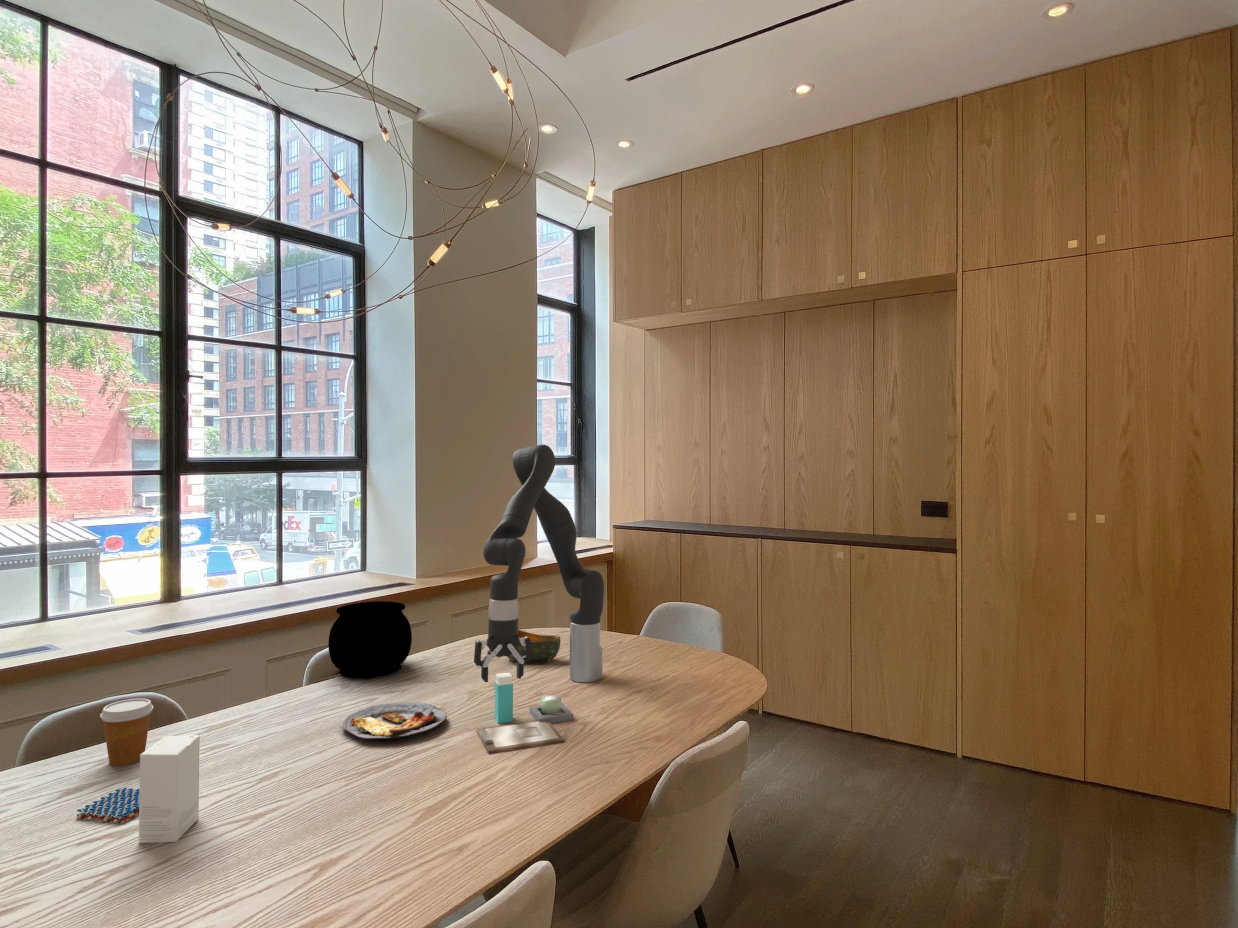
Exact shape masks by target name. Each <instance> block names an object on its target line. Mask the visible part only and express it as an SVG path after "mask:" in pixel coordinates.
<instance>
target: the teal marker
mask: <svg viewBox="0 0 1238 928" xmlns="http://www.w3.org/2000/svg"><path fill="white" fill-rule="evenodd" d="M494 720H495V721H496V723H497V724H498V725H499V724H507V723H513V722H514V683H513V675H512V674H511V673H510V672H502V673H495V681H494Z"/></svg>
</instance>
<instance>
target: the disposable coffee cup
mask: <svg viewBox="0 0 1238 928" xmlns="http://www.w3.org/2000/svg"><path fill="white" fill-rule="evenodd" d="M153 710H154V705H153V704H152V700H150V699H147V698H129V699H124V700H119V701H118V700H117V701H114V702H111V703H109V704H107V705H105V706H104V707H103V709H102V712H101V713H100V714H99V717H100V718H101V720H102V722H103V729H104V730H103V731H104V738H105V741H106V742H105V743H106V750H107V755H108V756H107V758H108V763H109V765H110V766H115V767H120V766H121V767H122V766H127V765H130V764H131V765H132V764H135V763H137V762H140V754H142V753H143V752H145V751H146V747H147V739H148V735H149V727H150V720H151V714H152V712H153Z"/></svg>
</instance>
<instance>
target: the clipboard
mask: <svg viewBox="0 0 1238 928" xmlns="http://www.w3.org/2000/svg"><path fill="white" fill-rule="evenodd" d="M475 733H476V735H477V736H478V737H479V740H480V741H481V743H482V745H483V746H484V749H485V751H486V752H487V754H488V755H489V754H494V753H500V752H502V753H503V752H506V751H507V752H508V751H514V750H521V749H527V748H534V747H540V746H546V745H552V744H558V743H559V744H560V743H565V738H564V737H563V736H562V735H561V734H560V733H559V731H558V730H557V729H556V728H555V727H554V725H553V723H550V722H549V721H546V722H545V721H543V722H539V721H538V720H537V721H536V720H532V721H524V722H517V723H515V722H514V723H509V724H503V725H502V724H501V725H495V726H487V727H481V728H476V729H475Z"/></svg>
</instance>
